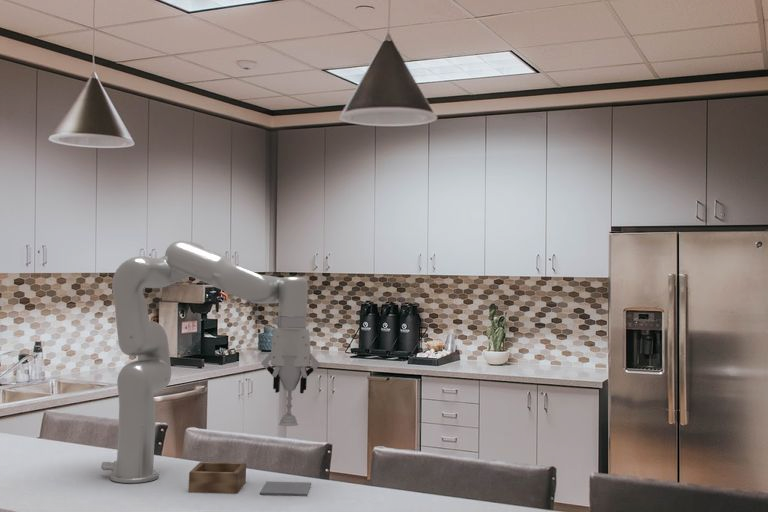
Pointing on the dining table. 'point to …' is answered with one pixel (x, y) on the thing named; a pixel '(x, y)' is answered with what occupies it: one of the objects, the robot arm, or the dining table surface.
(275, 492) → the coaster
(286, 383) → the chalice
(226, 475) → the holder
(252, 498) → the dining table surface
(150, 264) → the robot arm
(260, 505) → the dining table surface
